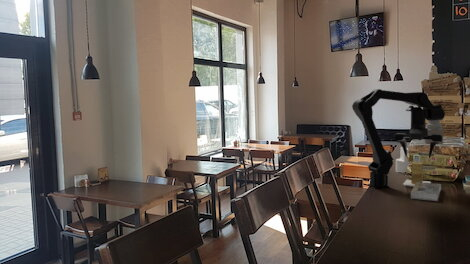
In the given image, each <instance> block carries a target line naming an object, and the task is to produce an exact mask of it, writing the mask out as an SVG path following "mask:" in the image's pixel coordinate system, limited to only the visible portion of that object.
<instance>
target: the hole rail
mask: <svg viewBox="0 0 470 264" xmlns="http://www.w3.org/2000/svg"><path fill="white" fill-rule="evenodd" d="M441 190H442V184H441V183H432V182H431V183H423V182H416V184H415V186H414V187H413V188H412V189H411V190H410V199H412V200H413V199H415V200H422V201H423V200H424V201H433V202H438V201H439V198H440V194H441Z"/></svg>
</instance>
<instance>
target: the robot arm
mask: <svg viewBox="0 0 470 264" xmlns="http://www.w3.org/2000/svg"><path fill="white" fill-rule="evenodd" d="M380 100H388V101H394V102H395V101H396V102H402V103H405V104H408V105H409V106H408V107H407V108H406V109H405V111H406V112H410V130H409V134H406V133H405V132H397V133H395V134H394V135H393V141H397V143H399V144H400V146H401V147H403V150H404V153H405V156H407V148H408V147H407V140H411V141H414V140H416V141H417V140H418V141H422V140H425V139H427V140H432V141H431V144H430V151H429V158H430V157H431V154H432V151H433V148H434V146H435V145H436V144H438V143H439V142H442V141H443V142H444V134H443V135H442V134H432V135H428V128H426V124H427V123H426V121H434V120H440V121H442V120H444V118H445V116H446V115H445V111H444V108H443V106H442V104H433V103H432V101H431V100H430V99H429V96H428V94H427V93H426V92H423V91H422V92H421V91H415V92H400V91H392V90H383V89H379V88H377V89H373V90H372V91H370V92H369V93H368V94H366V95H364V96H363V97H361V98H360V99H357V100H354V102H353V103H352V104H351V105H352V106H351V107H352V110H353V112H354V114H355V115H356V117H357V119H359V120H360V122H361V124H362V126H363V129H364V131H365V135H366V137H367V139H368V143H369V144H370V147H371V150H372V154H371V155H372V162H370V164H369V165H368V166H367V169H368V170H369V179H370V180H369V183H368V184H367V185H368V186H370V187H372V188H375V189H382V188H390V185H389V180H388V179H389V173H390V171H391V168H392V167H393V165H394V158H393V156H392V152H391V150H388V149H385V148H384V146H383V143H382V140H381V138H380V137H381V136H380V135H379V133H378V130H377V127H376V124H375V122H374V119H373V114H374V111H373V107H374V106H375V105H376V104H377V103H378V102H379V101H380Z"/></svg>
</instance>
